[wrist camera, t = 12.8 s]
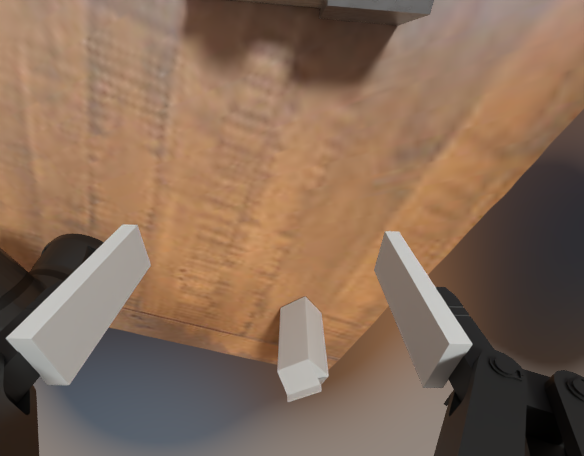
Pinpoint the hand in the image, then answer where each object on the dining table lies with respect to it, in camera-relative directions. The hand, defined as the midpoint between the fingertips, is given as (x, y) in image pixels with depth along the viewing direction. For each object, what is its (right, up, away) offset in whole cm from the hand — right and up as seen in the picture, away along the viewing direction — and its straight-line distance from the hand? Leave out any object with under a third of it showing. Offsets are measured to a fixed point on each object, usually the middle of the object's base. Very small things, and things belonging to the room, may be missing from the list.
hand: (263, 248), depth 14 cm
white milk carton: (+4, -18, +48) cm, 51 cm away
